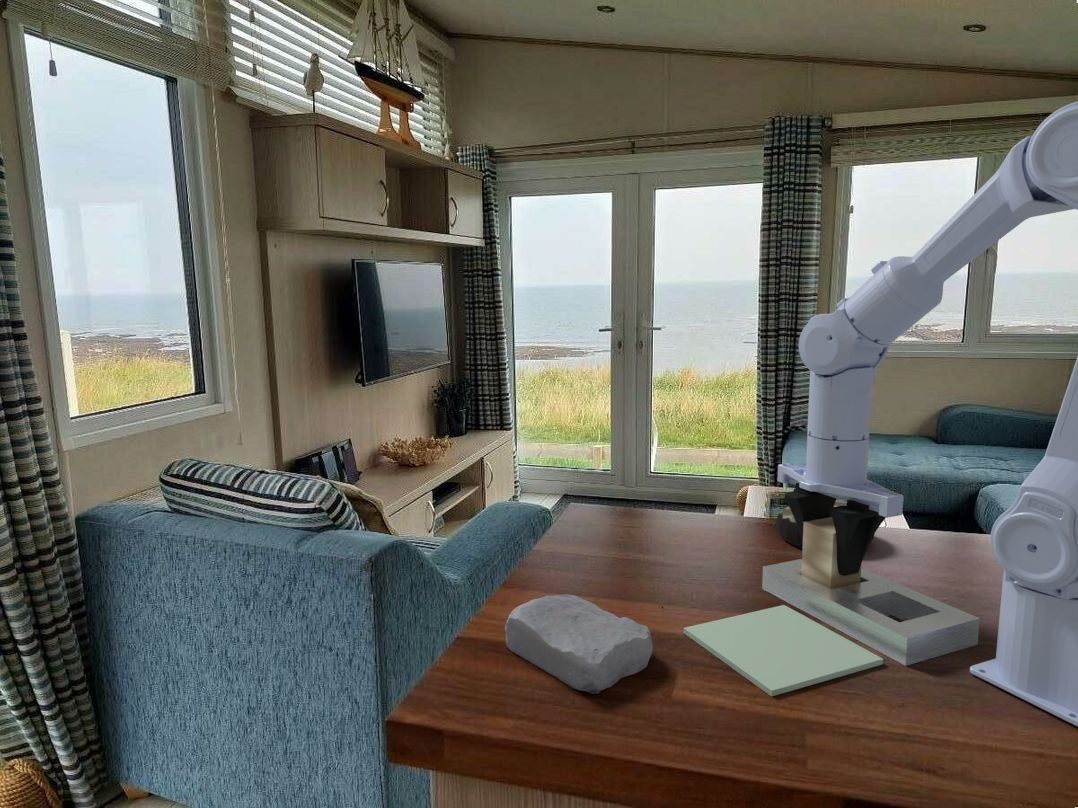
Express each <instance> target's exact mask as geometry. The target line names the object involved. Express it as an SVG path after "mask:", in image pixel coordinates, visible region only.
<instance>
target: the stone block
mask: <svg viewBox="0 0 1078 808" xmlns="http://www.w3.org/2000/svg"><path fill="white" fill-rule="evenodd" d="M504 631H505V645H506V647H507V648H508V650H509V651H511V652H512V653H514V654H515V655H517V656H519V657H521V658H522V659H524V660H525V661H528V662H529V663H531V664H532V665H533V666H536V667H537V668H539V669H540V670H543V671H544V672H546V673H548V674H549V675H551V676H553V677H555V678H556V679H558V680H559V681H561V682H562V683H564V684H566V685H567V686H569V687H570V688H571V689H575V690H578V691H583V692H587V693H589V694H591V695H592V694H593V695H597V694H599V693H601V692H602V691H604V690H605V689H608V688H611V687H612V686H614V685H615V684H616V683H618V682H619V680H621V679H623V678H625V677H628V676H632V675H635V674H637V673H638V672H641V671H643V670H644V669H645V668H648V663H649V661H650V658H651V657H652V655H653V654H652V653H653V647H654V645H653V639H652V635H651V634H652V633H651V631H650V630H649V628H648V626H646V625H643V624H639V623H638V622H636V621H634V619H631V618H629V617H624V616H623V617H618V616H616V615H615V614H614V613H611V612H610V611H607V610H603V609H602V608H600V607H599V606H598V605H596V604H594V602H593V603H592V602H591V601H588V600H586V599H584V598H581V597H579V596H577V595H574V594H573V595H572V594H568V593H564V594H555V595H545V596H543V597H540V598H536V599H532V600H529V601H528V602H524V603H523V604H520V605H518V606H517V607H515V608H514V609H513V610H512V611H511V612H510V613H509V614H508V617H507V620H506V623H505V625H504Z"/></svg>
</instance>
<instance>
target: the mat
mask: <svg viewBox="0 0 1078 808" xmlns="http://www.w3.org/2000/svg"><path fill="white" fill-rule="evenodd" d="M683 634H684V635H686V636H687V637H688V638H690V639H691V640H693V641H694V642H695V643H697V644H698V645H700V646H701V647H703V648H704V649H705V650H706V651H707V652H709V653H710V654H712V655H714V657H716V658H718V659H719V660H720V661H721V662H723V663H724V664H725V665H727V666H729V667H730V668H732V669H733V670H734V671H736V672H737V673H738V674H739V675H741V676H742V677H744V678H745V679H746V680H748V681H749V682H751V683H752V684H753V685H755V686H756V687H758V688H759V689H760V690H762V691H763V692H765V693H766V694H767V695H769V696H770V697H774V696H778V695H781V694H786V693H788V692H792V691H795V690H799V689H802V688H803V689H804V688H805V687H810V686H812V685H816V684H820V683H824V682H826V681H830V680H833V679H837V678H840V677H844V676H849V675H851V674H853V673H854V674H855V673H858V672H861V671H865V670H868V669H872V668H875V667H879V666H881V665H883V664H884V658H882V657H880V656H878V655H877V654H875V653H873V652H871V651H869V650H868V649H866V648H864V647H862V646H860V645H858V644H857V643H855V642H853V641H851V640H850V639H848V638H846V637H844V636H842V635H840V634H838V633H837V632H835V631H833V630H832V629H829V628H827V627H825V626H823V625H822V624H820V623H818V622H816V621H815V620H813V619H811V618H810V617H808V616H806V615H804V614H802V613H800V612H798V611H796V610H795V609H792V608H790V607H789V606H787V605H785V604H781V605H778V606H777V605H776V606H773V607H769V608H763V609H760V610H757V611H751V612H748V613H747V612H746V613H744V614H743V613H742V614H738V615H735V616H734V615H733V616H730V617H725V618H721V619H718V620H717V619H716V620H713V621H708V622H703V623H698V624H695V625H690V626H686V627H683Z"/></svg>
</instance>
